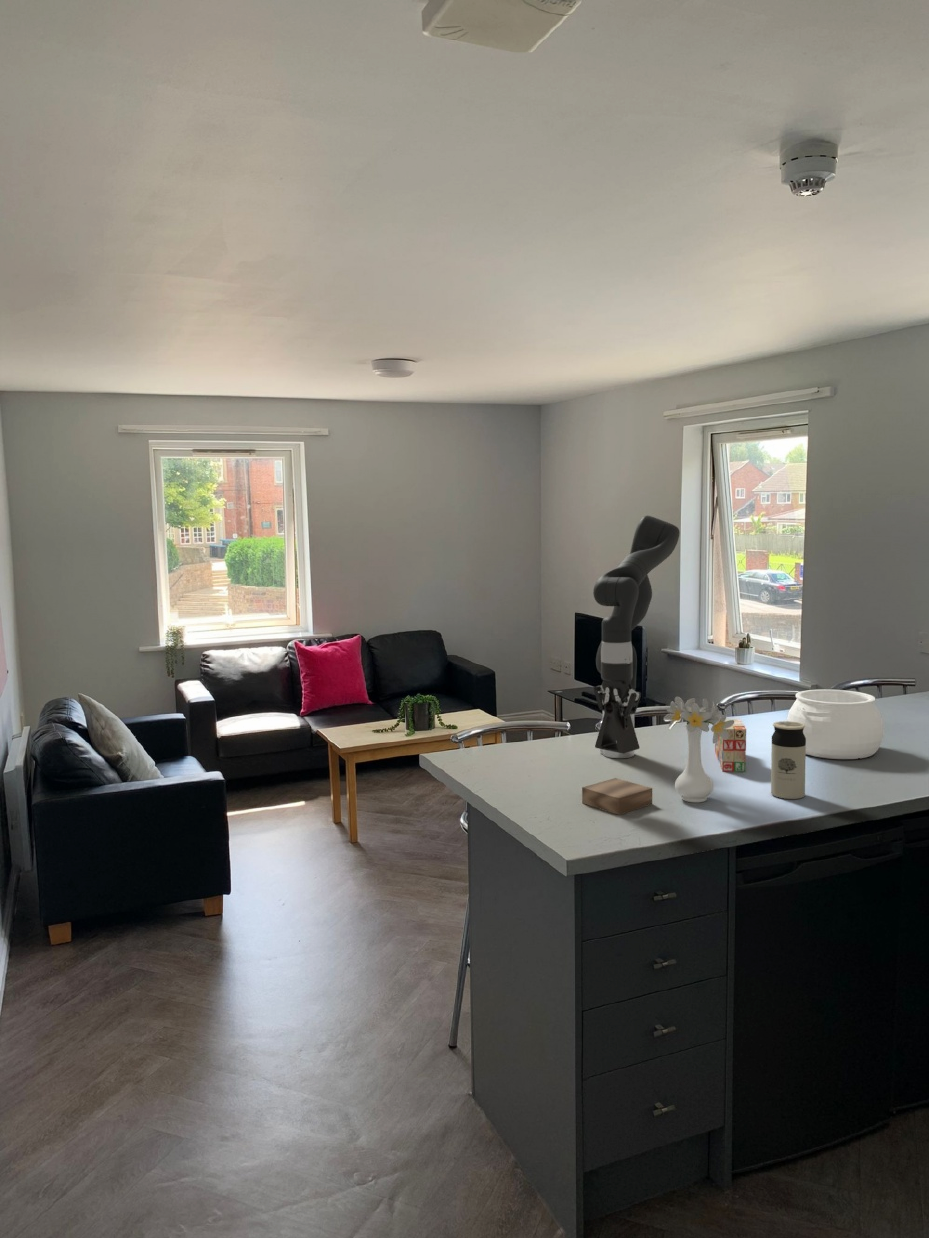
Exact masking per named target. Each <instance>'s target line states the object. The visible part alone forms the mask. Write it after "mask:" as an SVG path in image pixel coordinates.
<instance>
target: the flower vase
mask: <svg viewBox="0 0 929 1238" xmlns="http://www.w3.org/2000/svg"><path fill="white" fill-rule="evenodd" d="M701 705H702V707H700V706H699V704H698V703H696V698H694V697H692V698H689V699H687V701H686V702H684V700H683V699H682V698H681V697H680V696H675V697H674V701H671V702H670V704H669V707H667V708H666V712H668V713H667V714H666V715H665V716H663V721H664V722H669V724H668V726H667V727H668V729H667V730H668V731H670V730H672V729H673V727H674V726H675V725H676V724H677V723H680V722H681V720H683V721H686V723H684V726H685V728H686V734H687V760H686V764H685V767H684V769H683V771H682V773H680V774H679V776H677V778H676V779H675V782H674V789H675V790H676V792H677V793H678V794H679V795H680V797H681V800H683V801H685V802H688V803H696V804H697V803H703V802H707V800H708V797H709V796H710V795H711V794H712V792H713V791H714V788H715V787H714V783H713V781H712V779H711V777H710V776H709V775H708V774H707V773H706V771H705V770H704V767H703V764H702V754H701V750H702V749H701V738H702V732H704V733H705V732H706V733H708V732H709V731H711V733H713V736H712V744H715V743H716V742H717V740H718V738H719V735H720V736H721V737H722V738H723V739H724V740H727V739H728V737H729V735H728V732H727V731H726V730H727V729H726V728H729V727H731V726H732V725H733V724H734V720H729V721H725V720H726V719H727V715H726V714H725V713H724V714H722V715H721V713H720V712H719V710H720V709H719V707H718V706H716V704H715V702H714V700H713V701H712V706H711V707H709V701H708V700H707V698H704V697H703V698H702V704H701ZM723 721H725V722H723ZM710 724H711V725H712V726H711V728H710V727H709V726H710ZM725 729H726V730H725ZM718 734H719V735H718Z"/></svg>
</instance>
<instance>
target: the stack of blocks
mask: <svg viewBox="0 0 929 1238" xmlns="http://www.w3.org/2000/svg"><path fill="white" fill-rule="evenodd" d="M729 720H734V724H733V725H732V726H731V727H729V728H726V729H727V730H726V729H725V730H726V731H727V732H728V735H729V737H728V739H727V740H724V739H723V738H722V737H721V736H720V735H719V734H718V735H719V738H718V740H717V742H716V743H714V744H715V745H714V752H715V755H716V758H717V760H718V762H719V767H720V768H721V769H720V770H721V772H723V773H726V772H727V773H746V763H747V762H746V754H747V728H746V725H745V724H744V723H743V721H742V720H741V718H726V720H725V721H729ZM725 721H723V722H725Z"/></svg>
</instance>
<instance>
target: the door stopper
mask: <svg viewBox="0 0 929 1238" xmlns="http://www.w3.org/2000/svg"><path fill="white" fill-rule="evenodd" d="M621 703H624V702H621ZM623 708H624V707H623ZM604 709H605V713H604V717H603V716H602V721H601V722H602V724H601V727H600V726H599V731H598V734H597V738H596V742H595V744H594V747H595V749H599V750H600V749H603V750H608V751H609V750H610V751H613V752H618V753H623V754H624V753H627V752H631V751H634V752H635V751H637V750H639V749H640V743H639V741H638V737H637V734H636V730H635V725H634V726H633V723H632V720H631V716H630V715H629V717H628V729H625V730H624V728H623V724H622V723H621V721H620V715H619V708H618V707H617V704H616V701H613V700H612V701H608V702H606V703H605V705H604ZM616 741H617V743H616Z"/></svg>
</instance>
